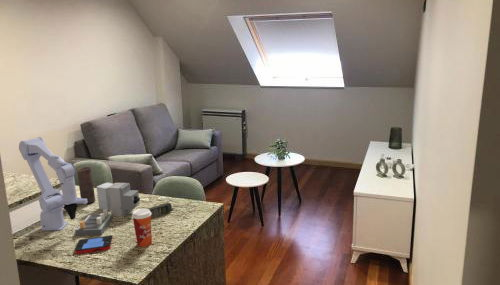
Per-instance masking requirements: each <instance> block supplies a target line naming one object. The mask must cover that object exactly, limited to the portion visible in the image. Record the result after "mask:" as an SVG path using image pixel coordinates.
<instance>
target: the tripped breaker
mask: <svg viewBox="0 0 500 285" xmlns="http://www.w3.org/2000/svg"><path fill="white" fill-rule="evenodd" d="M79 225H80V229H84V228H85V221H84V220H80V222H79Z"/></svg>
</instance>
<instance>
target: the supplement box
mask: <svg viewBox="0 0 500 285" xmlns="http://www.w3.org/2000/svg"><path fill="white" fill-rule="evenodd" d="M113 184H114V183H112V182H108V181H107V182H104V183H101V184H100V185H97V186H96V187H95V188H96V193H97V194H96V195H97V203H98V208H99V210H102V211H103V210H104V209H108V212H110V206H111V200H110V196H108V187H110V186H111V185H113ZM109 194H110V193H109Z"/></svg>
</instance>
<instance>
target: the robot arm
mask: <svg viewBox="0 0 500 285" xmlns="http://www.w3.org/2000/svg"><path fill="white" fill-rule="evenodd" d="M18 150H19V153H20V155H21V157H22V159H23V160H24V161H26V162H27V165H28V166H29V168H30V170H31V172H32V175H33V177H34V179H35V181H36V183H37V186H38V188H39V189H40V192H41V194H40V195H39V197H38V202H39V208H40V209H41V212H40V216H39V218H40V219H39V220H40V226H41V231H61V230H63V229H64V228H65V226H67V224H68V221H65V219H64V212H63V211H65V212H66V213H67V215H68V217H69V218H70V220H74V219H76V215H77V209H78V207H79V204H82V205H86V204H89V203H88V201H87V199H84V198H81V197H78V195H77V188H76V182H75V176H76V175H77V168H76V166H75V165H74V164H73V163H69V162H66V161H65V160H64V159H63V158H62V157H61V156H59V155H58V154H54V153H53V152H52V151H51V150H50V149H49V148H48V146H47V144H46V141H45V139H44V138H43V137H41V136H39V137H35V138H30V139H26V140H20V142H19V143H18ZM40 157H43V158H44V159H45V160H47V165H48V166H49V167H50V168H52V169H53V170H54V171H55V174H56V176H57V179H58V182H59V183H60V185H61V186H60V187H61V190H60V189H58V188H57V189H56V188H54V186H53V185H52V183H51V181H50V178H49V176H48V174H47V173H46V171H45V168H44V166H43V164H42V162H41V160H40ZM63 209H64V210H63Z"/></svg>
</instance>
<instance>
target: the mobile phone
mask: <svg viewBox="0 0 500 285" xmlns="http://www.w3.org/2000/svg"><path fill="white" fill-rule="evenodd" d="M172 207H173V206H172V204H171V203H170V202H165V203H162V204H159V205H156V206H152V207H150V208H148V209H149V210H150V212H151V213H152V214H151V219H153V218H156V217H159V216H163V215H166V214H168V213H170V212H171V211H172V210H174V208H172Z"/></svg>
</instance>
